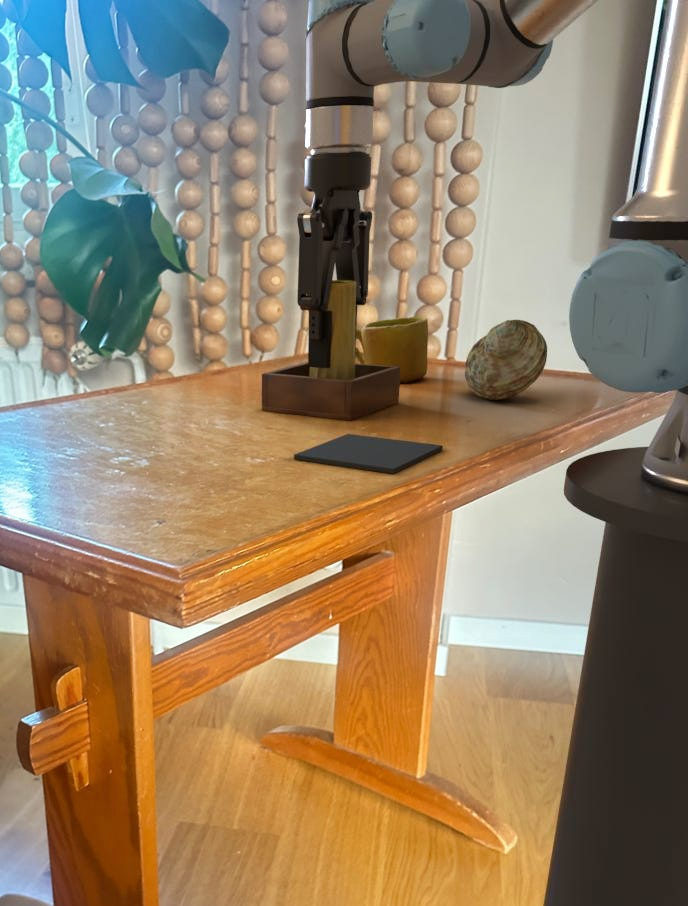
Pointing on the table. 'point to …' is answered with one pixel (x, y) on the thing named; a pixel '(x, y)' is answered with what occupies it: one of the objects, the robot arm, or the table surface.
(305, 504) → the table surface
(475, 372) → the seashell
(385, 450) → the mat
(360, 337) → the mug
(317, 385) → the bin
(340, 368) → the vase
